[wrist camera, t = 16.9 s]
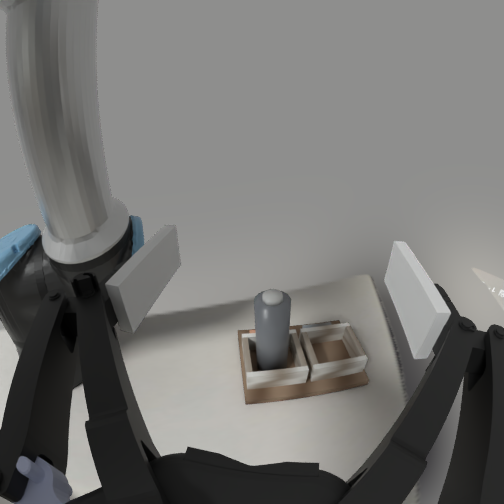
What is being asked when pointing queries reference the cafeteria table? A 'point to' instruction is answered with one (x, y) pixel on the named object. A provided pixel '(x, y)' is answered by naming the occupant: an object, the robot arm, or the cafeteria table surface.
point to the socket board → (305, 363)
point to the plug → (272, 329)
